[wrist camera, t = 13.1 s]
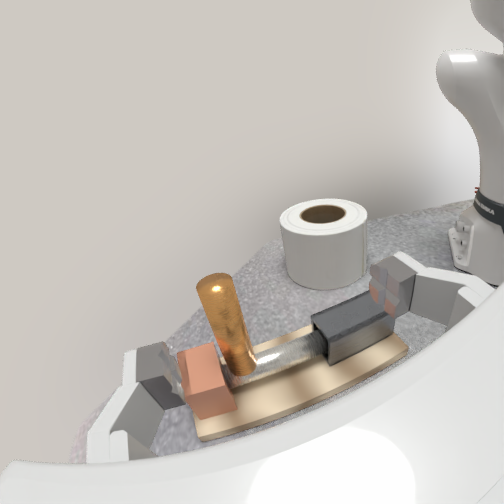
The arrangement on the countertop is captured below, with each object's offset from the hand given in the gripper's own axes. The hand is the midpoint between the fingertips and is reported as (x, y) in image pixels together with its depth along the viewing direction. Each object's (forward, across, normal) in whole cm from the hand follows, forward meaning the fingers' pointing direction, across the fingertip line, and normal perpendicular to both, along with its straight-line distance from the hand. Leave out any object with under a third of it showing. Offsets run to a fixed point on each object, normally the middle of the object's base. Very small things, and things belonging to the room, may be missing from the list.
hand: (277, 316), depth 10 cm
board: (+13, -4, +23) cm, 27 cm away
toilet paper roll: (+32, -19, +24) cm, 44 cm away
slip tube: (+13, -1, +20) cm, 24 cm away
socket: (+13, +7, +21) cm, 26 cm away
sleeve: (+13, -12, +21) cm, 28 cm away
